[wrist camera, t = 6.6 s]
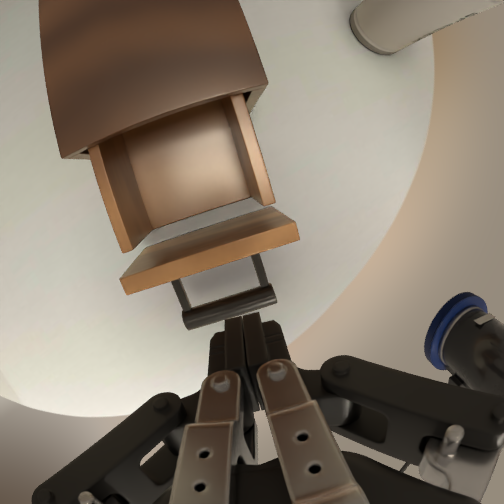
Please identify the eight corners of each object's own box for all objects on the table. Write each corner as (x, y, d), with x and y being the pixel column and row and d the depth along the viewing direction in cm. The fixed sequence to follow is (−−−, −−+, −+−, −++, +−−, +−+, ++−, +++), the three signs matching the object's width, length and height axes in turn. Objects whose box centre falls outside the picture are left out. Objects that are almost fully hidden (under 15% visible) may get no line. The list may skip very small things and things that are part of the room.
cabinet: (249, 113, 25) (269, 83, 15) (111, 161, 24) (61, 158, 15) (203, -20, 20) (202, -81, 11) (81, 24, 20) (38, -19, 10)
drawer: (290, 271, 28) (317, 308, 20) (170, 309, 27) (157, 357, 20) (227, 61, 22) (232, 21, 15) (100, 106, 22) (60, 85, 14)
